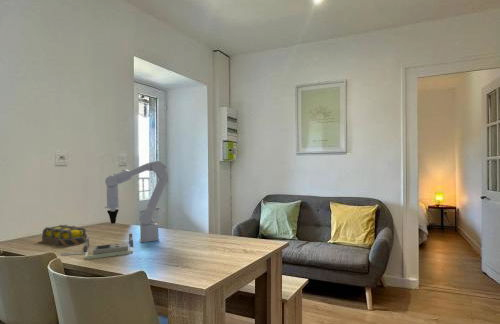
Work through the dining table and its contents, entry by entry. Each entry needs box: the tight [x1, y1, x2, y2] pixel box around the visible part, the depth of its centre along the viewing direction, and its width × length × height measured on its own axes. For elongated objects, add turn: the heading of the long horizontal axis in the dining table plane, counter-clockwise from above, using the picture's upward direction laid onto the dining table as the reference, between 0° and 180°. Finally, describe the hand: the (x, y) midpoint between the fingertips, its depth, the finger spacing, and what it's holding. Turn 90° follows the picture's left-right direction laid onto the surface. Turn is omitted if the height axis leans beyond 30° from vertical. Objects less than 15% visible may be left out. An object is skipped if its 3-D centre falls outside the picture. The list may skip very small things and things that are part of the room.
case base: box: [83, 232, 134, 252], centre depth 163 cm, size 23×13×4 cm, turn 114°
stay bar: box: [59, 251, 90, 256], centre depth 150 cm, size 2×12×1 cm, turn 96°
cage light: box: [41, 224, 88, 247], centre depth 179 cm, size 15×8×30 cm
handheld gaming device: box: [92, 242, 129, 255], centre depth 150 cm, size 9×15×4 cm, turn 112°
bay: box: [84, 246, 134, 260], centre depth 148 cm, size 20×9×1 cm, turn 114°
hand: (113, 223), depth 171 cm, fingers closed
